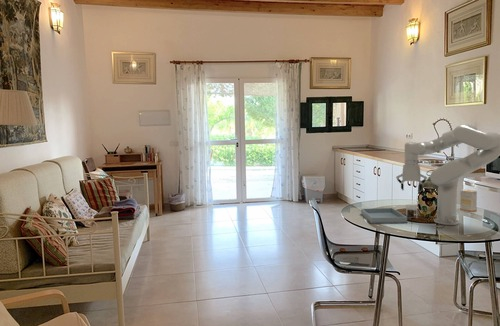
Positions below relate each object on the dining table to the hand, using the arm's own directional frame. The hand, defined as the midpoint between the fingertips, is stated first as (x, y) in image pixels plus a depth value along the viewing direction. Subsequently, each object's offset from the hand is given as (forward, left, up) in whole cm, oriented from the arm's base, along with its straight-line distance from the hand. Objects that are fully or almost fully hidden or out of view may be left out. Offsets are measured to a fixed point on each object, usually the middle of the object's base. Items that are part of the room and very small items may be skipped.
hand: (411, 190), depth 217 cm
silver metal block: (0, 0, -16) cm, 16 cm away
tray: (-4, +19, -16) cm, 25 cm away
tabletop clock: (+26, -23, -16) cm, 38 cm away
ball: (+3, -1, -14) cm, 14 cm away
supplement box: (+12, -40, -16) cm, 45 cm away
